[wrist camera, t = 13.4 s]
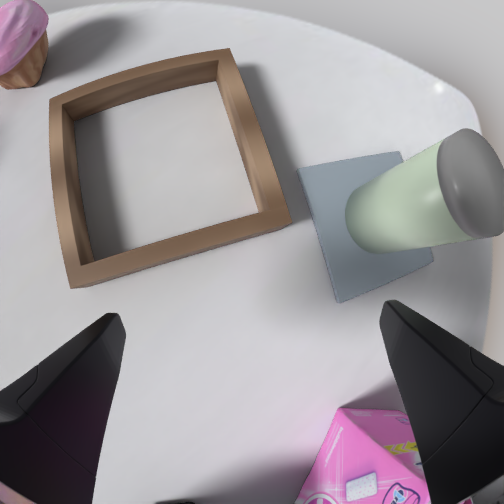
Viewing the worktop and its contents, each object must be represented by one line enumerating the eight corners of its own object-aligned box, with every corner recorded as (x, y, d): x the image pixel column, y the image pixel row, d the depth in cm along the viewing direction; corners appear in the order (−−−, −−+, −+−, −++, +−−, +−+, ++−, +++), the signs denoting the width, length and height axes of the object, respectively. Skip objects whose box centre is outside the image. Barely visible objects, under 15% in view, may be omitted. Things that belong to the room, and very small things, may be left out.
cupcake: (-13, 110, 18) (-59, 65, 8) (19, 50, 19) (-11, -1, 9) (44, 103, 20) (-1, 41, 10) (77, 39, 21) (53, -25, 11)
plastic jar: (387, 267, 23) (502, 257, 11) (333, 228, 23) (441, 186, 11) (410, 211, 24) (513, 176, 12) (361, 171, 24) (458, 108, 12)
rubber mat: (430, 261, 25) (433, 261, 24) (337, 302, 23) (339, 303, 22) (395, 152, 25) (398, 151, 25) (296, 170, 23) (298, 168, 23)
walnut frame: (280, 229, 22) (292, 222, 19) (86, 287, 20) (70, 288, 17) (225, 69, 23) (229, 48, 20) (62, 115, 20) (49, 99, 17)
